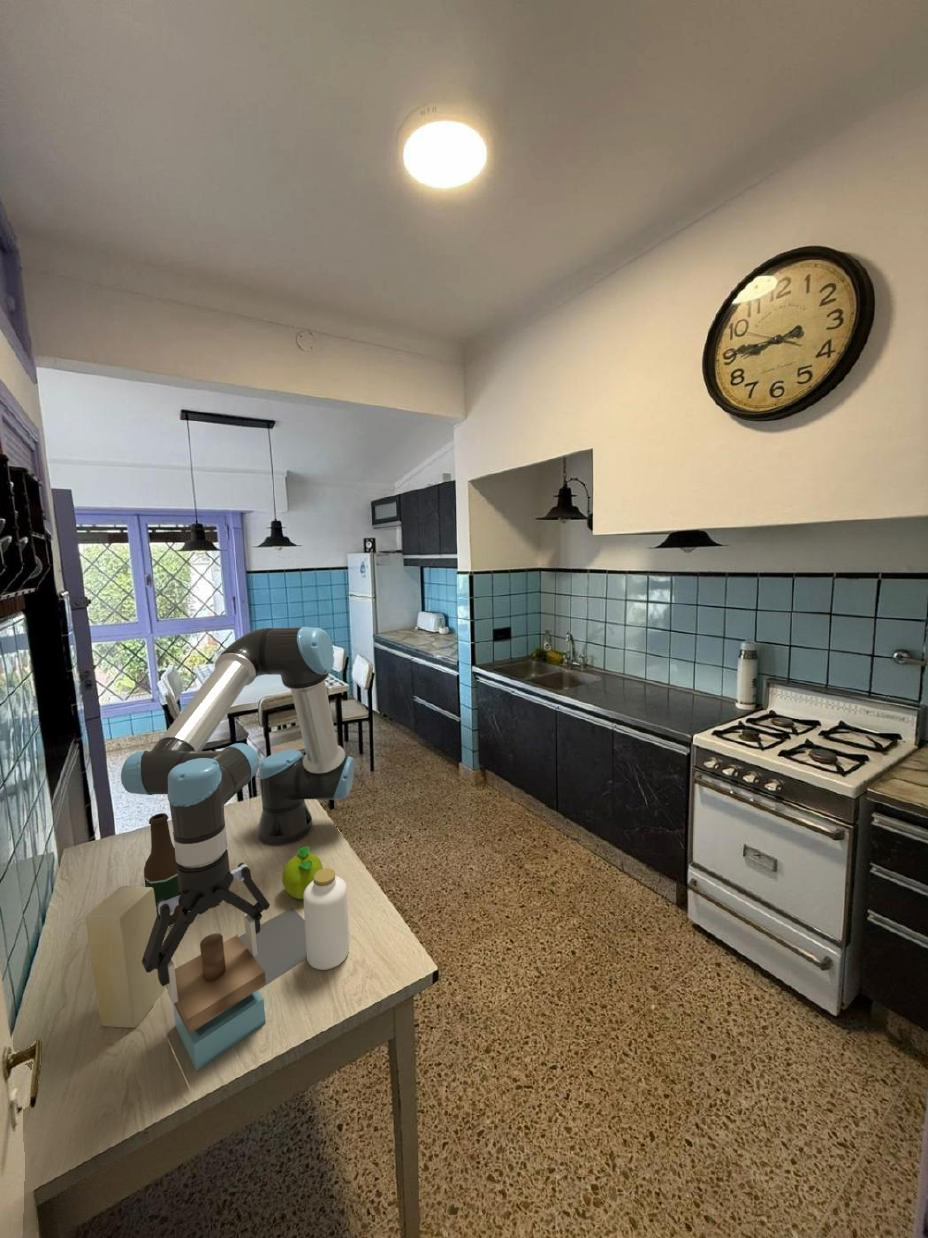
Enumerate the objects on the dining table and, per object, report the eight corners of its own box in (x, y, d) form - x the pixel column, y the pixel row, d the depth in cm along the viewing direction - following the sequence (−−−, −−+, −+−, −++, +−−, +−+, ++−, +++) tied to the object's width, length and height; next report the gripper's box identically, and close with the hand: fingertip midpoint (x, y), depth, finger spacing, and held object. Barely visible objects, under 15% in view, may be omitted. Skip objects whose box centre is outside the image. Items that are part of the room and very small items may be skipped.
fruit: (323, 877, 124) (320, 840, 123) (325, 902, 115) (322, 862, 114) (284, 886, 122) (281, 848, 120) (283, 912, 113) (279, 871, 111)
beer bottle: (171, 930, 108) (159, 827, 105) (141, 925, 110) (128, 824, 106) (197, 905, 116) (186, 808, 112) (168, 901, 117) (157, 806, 114)
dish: (240, 986, 93) (238, 963, 93) (265, 1024, 86) (263, 998, 85) (175, 1027, 86) (172, 1001, 85) (197, 1073, 78) (193, 1045, 77)
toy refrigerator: (131, 986, 94) (117, 885, 91) (167, 989, 93) (154, 886, 90) (96, 1026, 86) (80, 916, 83) (135, 1029, 85) (120, 918, 83)
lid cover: (238, 947, 93) (234, 905, 92) (265, 984, 85) (261, 939, 83) (166, 987, 84) (160, 942, 83) (189, 1034, 76) (183, 984, 75)
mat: (292, 908, 114) (292, 907, 114) (328, 946, 103) (328, 944, 102) (218, 949, 102) (218, 948, 102) (250, 996, 91) (250, 994, 91)
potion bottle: (357, 955, 100) (354, 875, 97) (320, 981, 94) (316, 896, 91) (335, 932, 106) (332, 855, 103) (299, 955, 100) (294, 875, 97)
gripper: (265, 818, 92) (274, 923, 95) (108, 881, 75) (125, 1007, 78) (283, 833, 87) (292, 944, 90) (119, 904, 70) (137, 1038, 73)
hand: (214, 973), depth 84 cm, fingers closed on lid cover, 12 cm apart
